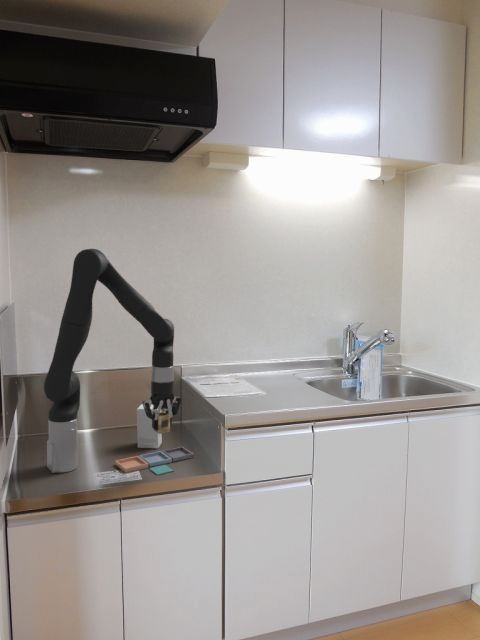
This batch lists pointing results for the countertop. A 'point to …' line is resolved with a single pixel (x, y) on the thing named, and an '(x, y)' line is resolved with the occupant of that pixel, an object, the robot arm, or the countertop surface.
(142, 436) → the skincare box
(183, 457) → the dish charcoal
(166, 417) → the letter block
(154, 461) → the dish slate
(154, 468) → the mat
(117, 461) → the dish terracotta
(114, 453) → the countertop surface
